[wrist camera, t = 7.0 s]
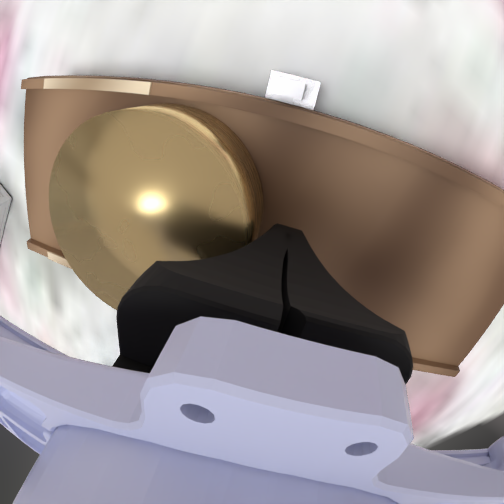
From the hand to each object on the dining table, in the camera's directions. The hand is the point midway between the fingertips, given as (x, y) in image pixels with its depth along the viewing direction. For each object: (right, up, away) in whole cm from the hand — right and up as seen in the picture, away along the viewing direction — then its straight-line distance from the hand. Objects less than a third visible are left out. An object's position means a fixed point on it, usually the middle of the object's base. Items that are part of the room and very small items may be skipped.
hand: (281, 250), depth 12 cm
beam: (-1, +1, +2) cm, 2 cm away
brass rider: (-5, +2, +1) cm, 5 cm away
